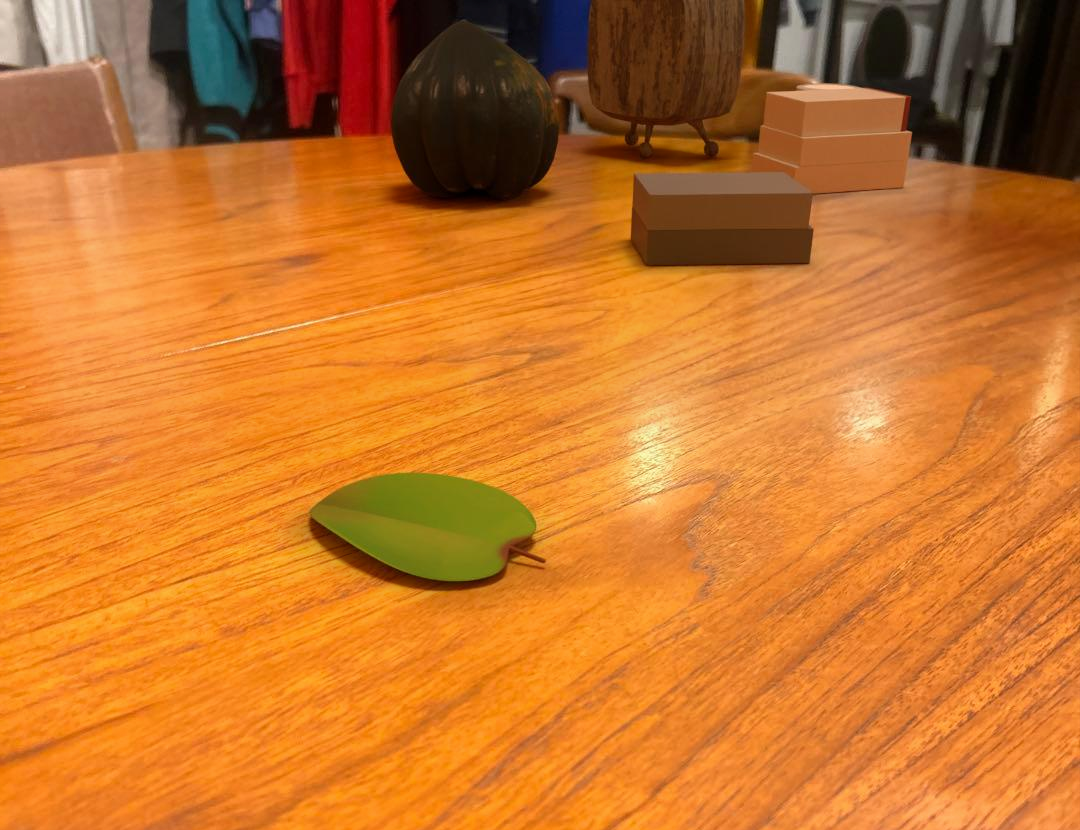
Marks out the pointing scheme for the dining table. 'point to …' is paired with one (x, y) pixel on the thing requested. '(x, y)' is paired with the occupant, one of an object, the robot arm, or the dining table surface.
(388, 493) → the decorative leaf
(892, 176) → the orange lidded box
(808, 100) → the tan box
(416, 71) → the squash
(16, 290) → the dining table surface
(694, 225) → the brown box
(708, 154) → the tabletop clock
